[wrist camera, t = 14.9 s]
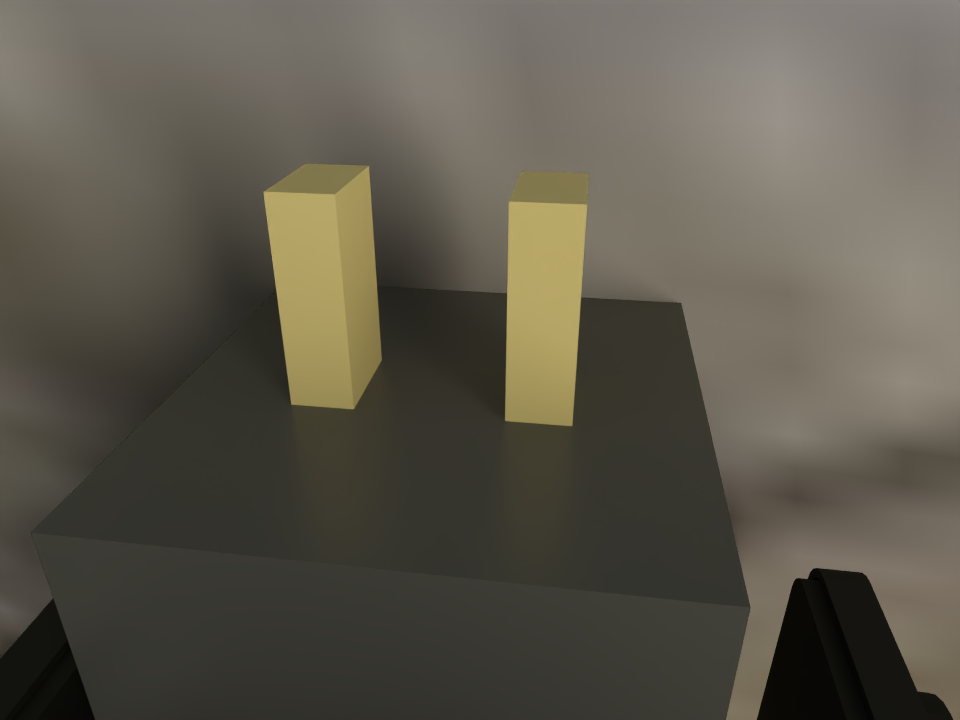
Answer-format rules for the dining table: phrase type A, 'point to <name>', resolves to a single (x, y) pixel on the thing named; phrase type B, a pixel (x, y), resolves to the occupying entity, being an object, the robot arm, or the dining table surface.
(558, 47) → the dining table surface
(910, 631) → the dining table surface
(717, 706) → the plug
